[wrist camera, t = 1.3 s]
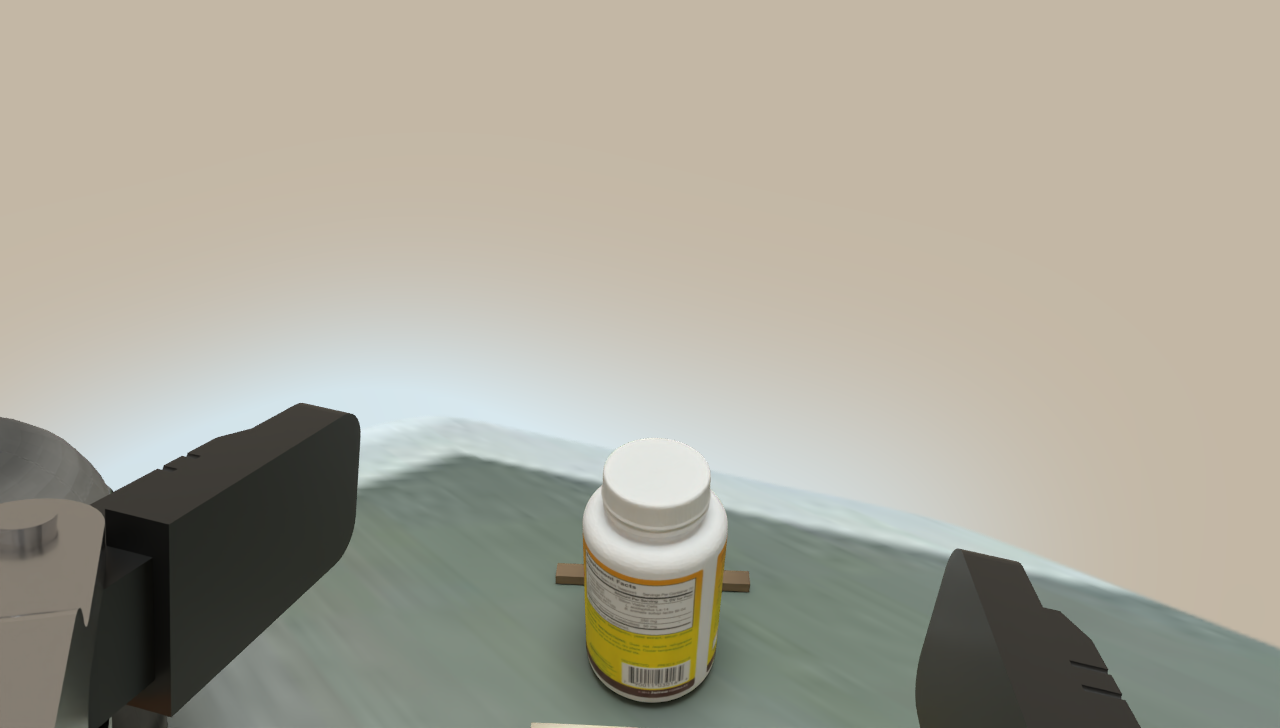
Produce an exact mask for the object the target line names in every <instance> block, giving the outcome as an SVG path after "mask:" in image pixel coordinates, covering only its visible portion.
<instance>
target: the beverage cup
mask: <svg viewBox="0 0 1280 728" xmlns="http://www.w3.org/2000/svg"><path fill="white" fill-rule="evenodd" d="M111 493H113V491H112V489H111V488H109V487H108V486H107V485H106V484H105V482H104V480H103V479H102V477H101V475H100V474H99V473H98V472H97V470H96V469H95V468H94V467H93V466H92V464H91V463H90V462H89V461H88V460H87V459H86V458H85V457H83V456H82V455H81V454H80V453H79V452H78V451H77V450H76V449H75V448H73V447H72V446H71V445H70V444H69V443H67V442H66V441H65V440H64V439H62V438H60V437H59V436H56V435H55V434H53V433H51V432H49V431H47V430H44V429H41V428H38V427H36V426H33V425H30V424H27V423H23V422H20V421H17V420H14V419H8V418H2V417H0V503H5V502H11V501H17V500H26V499H41V498H52V499H66V500H73V501H77V502H82V503H85V504H88V505H90V504H92V503H94V502H96V501H98V500H99V499H101V498H103V497H105V496H107V495H109V494H111ZM167 726H168V722H167V717H166V716H165V715H162V714H158V713H154V712H151V711H147V710H144V709H140V708H137V707H133V706H129V705H125V706H124V707H122V708H121V709H120V710H119V711H118V712H116V713H115V714H114V715H113V716H112V728H167Z"/></svg>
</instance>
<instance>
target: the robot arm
mask: <svg viewBox="0 0 1280 728" xmlns="http://www.w3.org/2000/svg"><path fill="white" fill-rule="evenodd" d="M359 451H360V425H359V421H358V419H357V418H356V416H355V415H353V414H350V413H346V412H341V411H336V410H332V409H328V408H323V407H319V406H314V405H310V404H305V403H299V404H296V405H294V406H292V407H290V408H288V409H287V410H285V411H283V412H281V413H279V414H278V415H276V416H274V417H272V418H270V419H268V420H267V421H265V422H263V423H261V424H259V425H257V426H255V427H254V428H252V429H248V430H245V431H241V432H237V433H233V434H229V435H225V436H221V437H218V438H215V439H213V440H211V441H209V442H208V443H206V444H204V445H202V446H200V447H198V448H196V449H194V450H192V451H190V452H189V453H188V454H187V457H184V456H181V457H179V458H177V459H175V460H173V461H171V462H170V463H168V464H166V465H164V467H163V470H160V469H156V470H154V471H152V472H151V473H149V474H147V475H145V476H143V477H141V478H139V479H137V480H136V481H134V482H132V483H130V484H128V485H126V486H124V487H122V488H120V489H118V490H117V491H115V492H113V493H111V494H109V495H107V496H105V497H103V498H101V499H99V500H98V501H96V502H94V503H92V504H90V505H88V504H85V503H82V502H77V501H73V500H66V499H52V498H41V499H26V500H17V501H11V502H5V503H0V728H112V716H113V715H114V714H115V713H116V712H118V711H119V710H120V709H121V708H122V707H124V706H125V705H129V706H133V707H137V708H140V709H144V710H147V711H151V712H154V713H158V714H162V715H165V716H169V717H172V716H173V715H174V714H175V713H176V712H177V711H178V710H180V709H181V708H182V707H183V706H184V705H185V704H186V703H187V702H188V701H189V700H190V699H191V698H192V697H193V696H195V695H196V694H197V693H198V692H199V691H200V690H201V689H202V688H203V687H204V686H205V685H206V684H207V683H208V682H210V681H211V680H212V679H213V678H214V677H215V676H216V675H217V674H218V673H219V672H220V671H221V670H222V669H224V668H225V667H226V666H227V665H228V664H229V663H230V662H231V661H232V660H233V659H234V658H235V657H236V656H237V655H239V654H240V653H241V652H242V651H243V650H244V649H245V648H246V647H247V646H248V645H249V644H250V643H251V642H252V641H254V640H255V639H256V638H257V637H258V636H259V635H260V634H261V633H262V632H263V631H264V630H265V629H266V628H268V627H269V626H270V625H271V624H272V623H273V622H274V621H275V620H276V619H277V618H278V617H279V616H280V615H281V614H283V613H284V612H285V611H286V610H287V609H288V608H289V607H290V606H291V605H292V604H293V603H294V602H295V601H296V600H298V599H299V598H300V597H301V596H302V595H303V594H304V593H305V592H306V591H307V590H308V589H309V588H310V587H312V586H313V585H314V584H315V583H316V582H317V581H318V580H319V579H320V578H321V577H322V576H323V575H324V574H325V573H327V572H328V571H329V570H330V569H331V568H332V567H333V566H334V565H335V564H336V563H337V562H338V561H339V560H340V558H341V557H342V555H343V554H344V552H345V550H346V548H347V546H348V544H349V542H350V539H351V536H352V533H353V529H354V524H355V517H356V501H357V485H358V468H359ZM1107 672H1108V668H1107V667H1106V665H1105V663H1104V661H1103V659H1102V658H1101V656H1100V654H1099V652H1098V650H1097V649H1096V647H1095V645H1094V643H1093V642H1092V640H1091V639H1090V638H1089V637H1088V636H1087V635H1086V634H1084V633H1083V632H1082V631H1081V630H1080V629H1079V628H1078V627H1077V626H1076V625H1074V624H1073V623H1072V622H1071V621H1070V620H1069V619H1068V618H1067V617H1066V616H1065V615H1063V614H1062V613H1061V612H1060V611H1057V610H1052V609H1048V608H1043V607H1042V605H1041V603H1040V600H1039V598H1038V596H1037V594H1036V592H1035V590H1034V588H1033V586H1032V584H1031V582H1030V580H1029V578H1028V576H1027V574H1026V572H1025V570H1024V568H1023V566H1022V565H1021V563H1019V562H1017V561H1012V560H1008V559H1003V558H998V557H994V556H989V555H985V554H980V553H976V552H971V551H967V550H962V549H956V550H954V551H953V553H952V554H951V556H950V558H949V560H948V563H947V566H946V569H945V572H944V576H943V579H942V582H941V586H940V589H939V593H938V596H937V600H936V603H935V606H934V610H933V613H932V617H931V620H930V624H929V627H928V630H927V634H926V637H925V641H924V644H923V648H922V651H921V655H920V659H919V663H918V669H917V677H916V690H915V698H916V708H917V714H918V719H919V724H920V728H1141V727H1140V725H1139V724H1138V722H1137V720H1136V718H1135V717H1134V715H1133V713H1132V711H1131V709H1130V708H1129V706H1128V704H1127V702H1126V700H1121V696H1122V693H1121V692H1120V690H1119V688H1118V686H1117V684H1116V683H1115V681H1114V679H1113V677H1112V675H1108V673H1107Z"/></svg>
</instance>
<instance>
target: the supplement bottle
mask: <svg viewBox="0 0 1280 728" xmlns="http://www.w3.org/2000/svg"><path fill="white" fill-rule="evenodd" d="M710 480H711V474H710V469H709V466H708V463H707V462H706V460H705V459H704V457H703V456H702V455H701V454H700V453H699V452H698V451H696V450H695V449H693V448H692V447H690V446H688V445H686V444H684V443H681V442H678V441H675V440H670V439H662V438H646V439H640V440H635V441H632V442H629V443H627V444H624V445H622V446H620V447H619V448H617V449H616V450H615V451H614V452H613V453H611V455H610V456H609V457H608V459H607V460H606V462H605V465H604V470H603V484H602V486H601V487H600V488H598V489H597V490H596V492H595V493H594V494H593V495H592V497H591V498H590V500H589V501H588V503H587V505H586V508H585V511H584V515H583V551H584V587H585V619H586V648H587V654H588V658H589V661H590V664H591V666H592V668H593V670H594V672H595V673H596V675H597V676H598V678H599V679H600V680H601V681H602V682H603V683H604V684H605V685H606V686H607V687H608V688H610V689H611V690H612V691H614V692H616V693H617V694H619V695H621V696H623V697H626V698H628V699H632V700H635V701H640V702H664V701H669V700H673V699H676V698H679V697H681V696H683V695H685V694H687V693H689V692H691V691H692V690H693V689H695V688H696V687H697V686H698V685H699V684H700V683H701V682H702V681H703V680H704V679H705V677H706V676H707V675H708V673H709V671H710V669H711V667H712V665H713V662H714V658H715V653H716V644H717V634H718V622H719V612H720V603H721V593H722V583H723V573H724V563H725V553H726V543H727V515H726V512H725V509H724V506H723V504H722V503H721V501H720V499H719V498H718V497H717V495H716V494H715V493H714V492H713V491H712V490H711V489H710Z"/></svg>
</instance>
